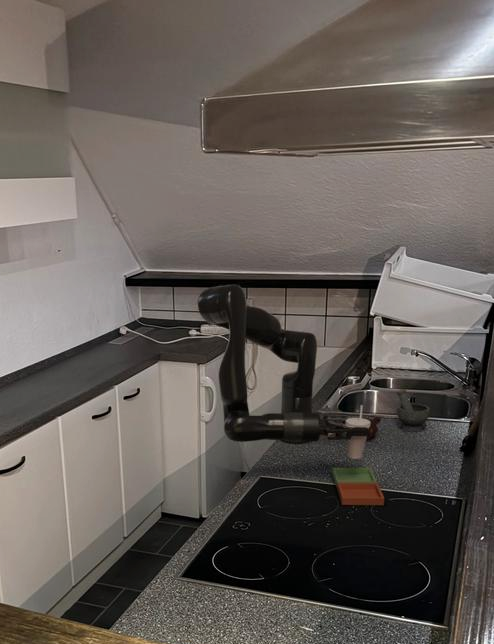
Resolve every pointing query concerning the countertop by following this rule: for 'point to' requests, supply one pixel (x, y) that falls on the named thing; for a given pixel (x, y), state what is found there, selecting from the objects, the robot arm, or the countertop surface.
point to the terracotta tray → (360, 494)
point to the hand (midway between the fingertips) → (365, 427)
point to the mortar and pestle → (411, 413)
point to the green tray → (353, 475)
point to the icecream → (372, 426)
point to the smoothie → (357, 442)
